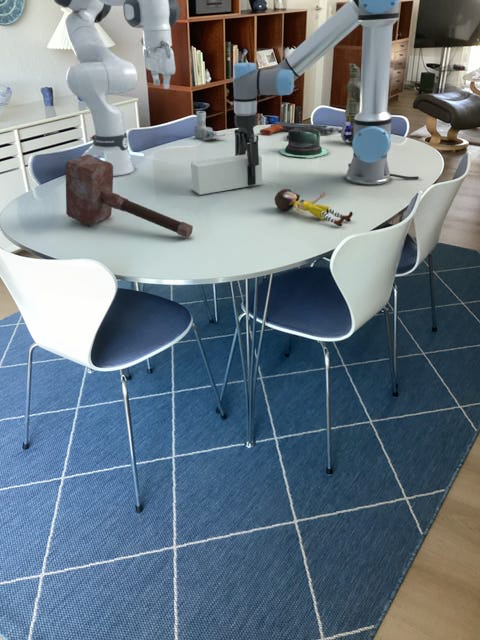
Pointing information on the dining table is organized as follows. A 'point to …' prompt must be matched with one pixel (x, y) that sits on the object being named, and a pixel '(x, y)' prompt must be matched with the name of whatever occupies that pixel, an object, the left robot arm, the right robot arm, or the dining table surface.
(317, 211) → the figurine
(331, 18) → the right robot arm
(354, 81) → the statue
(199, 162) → the box
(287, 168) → the dining table surface
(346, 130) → the toy
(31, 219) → the dining table surface
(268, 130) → the submachine gun
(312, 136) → the green hat
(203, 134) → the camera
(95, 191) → the sledgehammer
